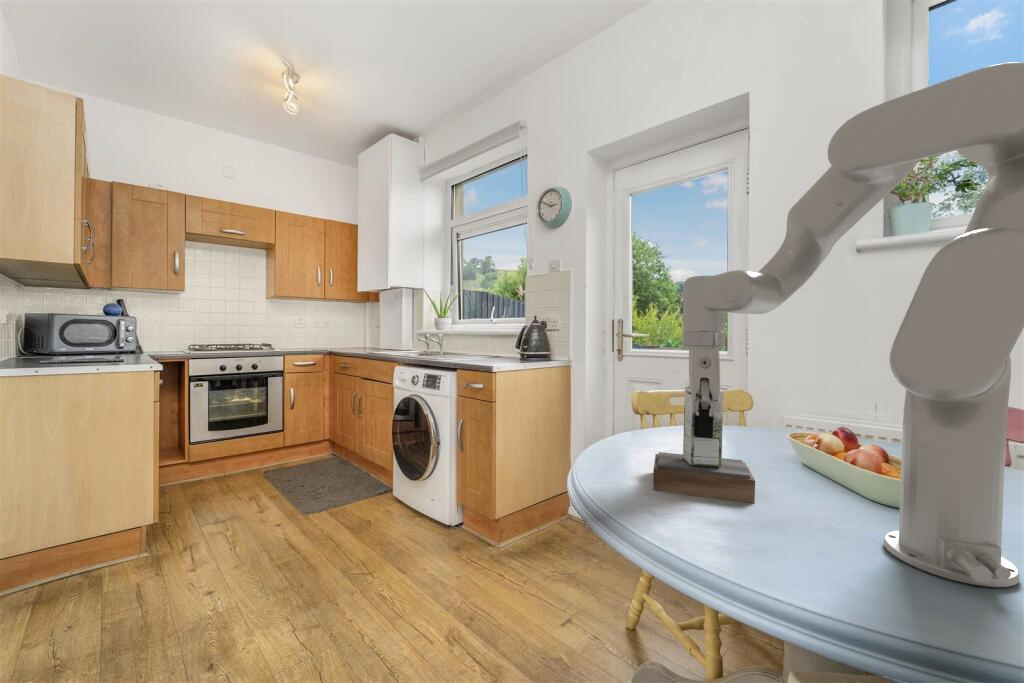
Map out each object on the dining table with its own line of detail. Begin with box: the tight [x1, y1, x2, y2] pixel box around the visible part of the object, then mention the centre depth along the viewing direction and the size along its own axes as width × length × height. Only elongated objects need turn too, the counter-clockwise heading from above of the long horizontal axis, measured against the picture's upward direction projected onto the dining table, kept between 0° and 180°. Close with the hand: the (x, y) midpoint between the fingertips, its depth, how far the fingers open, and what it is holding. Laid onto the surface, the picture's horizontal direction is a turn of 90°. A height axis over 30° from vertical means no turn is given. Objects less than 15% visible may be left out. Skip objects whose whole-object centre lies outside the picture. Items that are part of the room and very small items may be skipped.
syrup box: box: [682, 386, 724, 467], centre depth 84 cm, size 6×6×14 cm
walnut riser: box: [652, 451, 756, 504], centre depth 84 cm, size 11×17×5 cm, turn 70°
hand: (701, 432), depth 84 cm, fingers open, 6 cm apart
